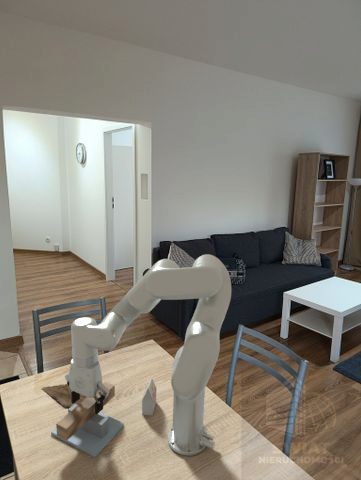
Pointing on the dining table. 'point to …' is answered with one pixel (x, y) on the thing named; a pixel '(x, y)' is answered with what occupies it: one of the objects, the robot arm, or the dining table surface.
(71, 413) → the walnut bar
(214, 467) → the dining table surface
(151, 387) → the grey pointed block
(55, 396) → the wooden fragment
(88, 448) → the ridge stand
